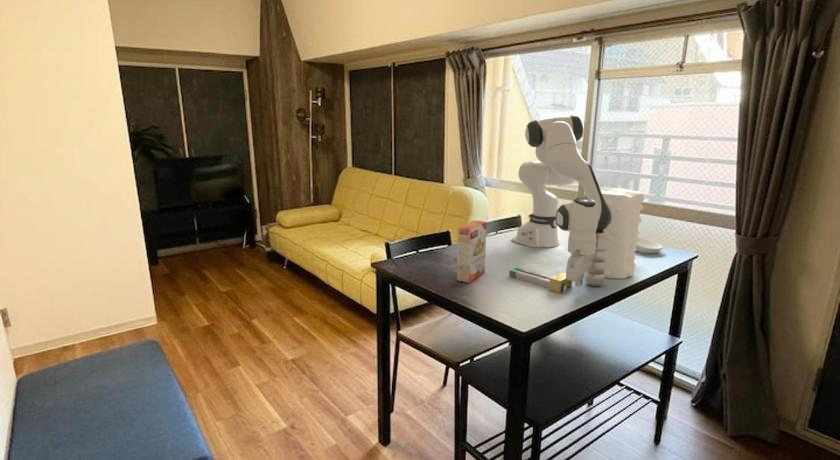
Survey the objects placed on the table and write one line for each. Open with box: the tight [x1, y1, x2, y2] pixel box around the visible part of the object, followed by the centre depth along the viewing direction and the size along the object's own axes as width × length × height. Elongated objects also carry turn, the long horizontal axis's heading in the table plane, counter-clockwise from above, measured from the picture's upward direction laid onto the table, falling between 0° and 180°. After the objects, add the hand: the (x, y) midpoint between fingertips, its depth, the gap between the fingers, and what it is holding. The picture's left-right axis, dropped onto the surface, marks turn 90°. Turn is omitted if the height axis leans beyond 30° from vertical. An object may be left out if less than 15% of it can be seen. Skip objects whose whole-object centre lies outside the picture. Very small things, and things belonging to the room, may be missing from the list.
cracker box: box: [456, 220, 488, 284], centre depth 173 cm, size 14×6×21 cm, turn 148°
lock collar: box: [549, 271, 573, 294], centre depth 162 cm, size 4×8×5 cm, turn 133°
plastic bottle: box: [584, 231, 608, 287], centre depth 163 cm, size 6×7×20 cm
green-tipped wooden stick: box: [508, 268, 568, 294], centre depth 168 cm, size 23×4×3 cm, turn 43°
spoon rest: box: [636, 235, 664, 255], centre depth 206 cm, size 24×12×7 cm, turn 44°
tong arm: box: [513, 266, 553, 280], centre depth 172 cm, size 16×2×3 cm, turn 43°
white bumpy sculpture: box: [600, 187, 645, 279], centre depth 174 cm, size 17×16×32 cm
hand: (578, 285), depth 157 cm, fingers closed
